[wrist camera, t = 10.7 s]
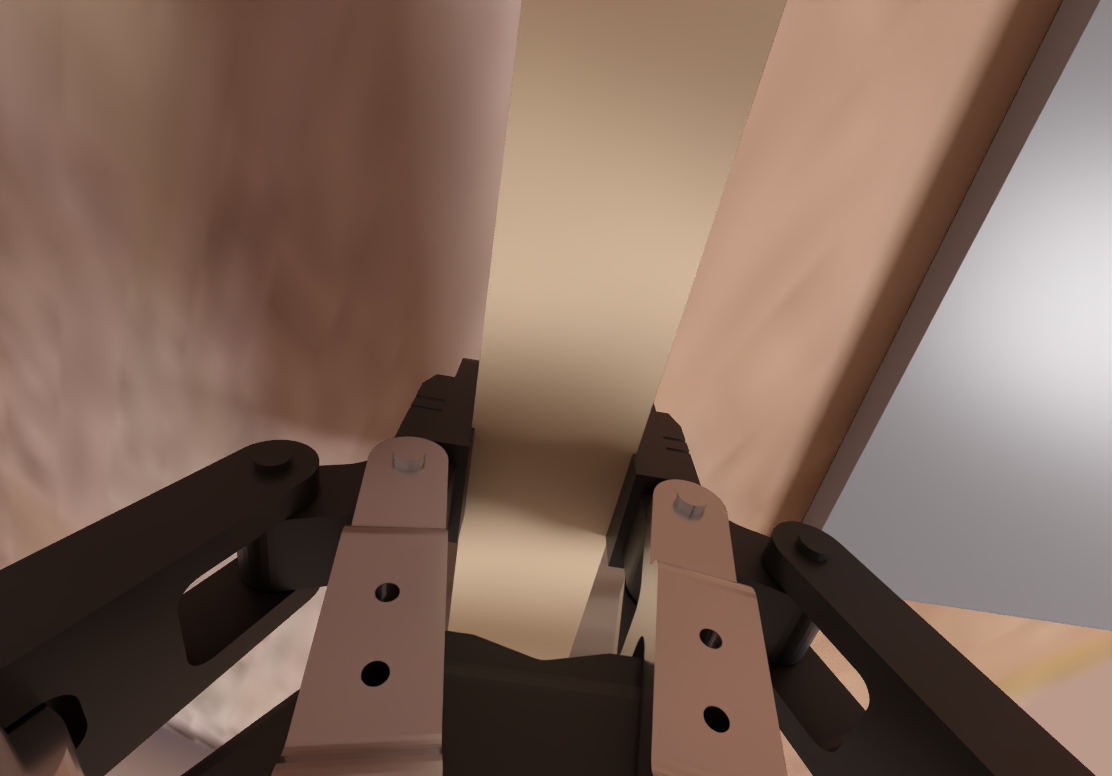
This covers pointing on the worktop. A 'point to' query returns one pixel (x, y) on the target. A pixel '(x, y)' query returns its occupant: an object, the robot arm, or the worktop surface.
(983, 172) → the board
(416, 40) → the worktop surface
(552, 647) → the beige rectangular block
